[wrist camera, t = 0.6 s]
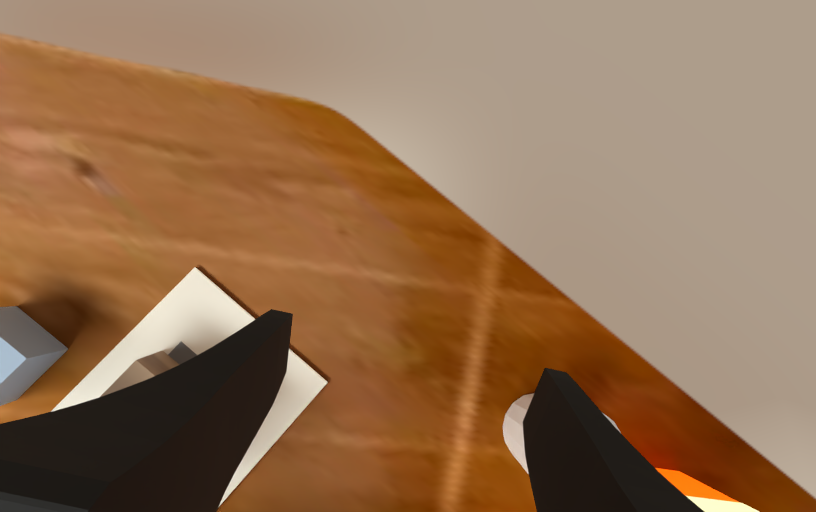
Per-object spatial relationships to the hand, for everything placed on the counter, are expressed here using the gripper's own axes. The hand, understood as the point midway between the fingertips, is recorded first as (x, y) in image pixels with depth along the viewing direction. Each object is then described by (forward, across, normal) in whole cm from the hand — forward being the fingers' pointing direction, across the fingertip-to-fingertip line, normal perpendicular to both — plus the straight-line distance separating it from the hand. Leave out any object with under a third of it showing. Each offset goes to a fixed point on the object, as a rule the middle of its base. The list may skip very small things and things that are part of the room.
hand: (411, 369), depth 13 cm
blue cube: (+13, +25, +16) cm, 33 cm away
